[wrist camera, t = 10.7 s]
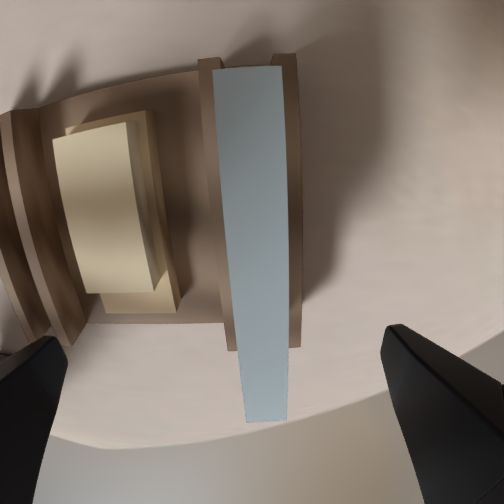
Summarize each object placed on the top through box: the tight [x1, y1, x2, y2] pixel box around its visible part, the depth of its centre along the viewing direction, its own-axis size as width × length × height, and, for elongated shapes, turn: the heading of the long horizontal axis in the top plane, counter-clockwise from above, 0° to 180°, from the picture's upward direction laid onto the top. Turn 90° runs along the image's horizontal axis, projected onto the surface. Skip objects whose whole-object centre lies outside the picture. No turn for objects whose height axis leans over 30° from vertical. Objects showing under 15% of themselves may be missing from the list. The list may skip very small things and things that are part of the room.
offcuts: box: [53, 110, 181, 313], centre depth 17 cm, size 12×5×3 cm, turn 3°
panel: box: [212, 66, 289, 423], centre depth 13 cm, size 12×2×10 cm, turn 3°
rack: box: [0, 54, 303, 351], centre depth 17 cm, size 16×20×4 cm
